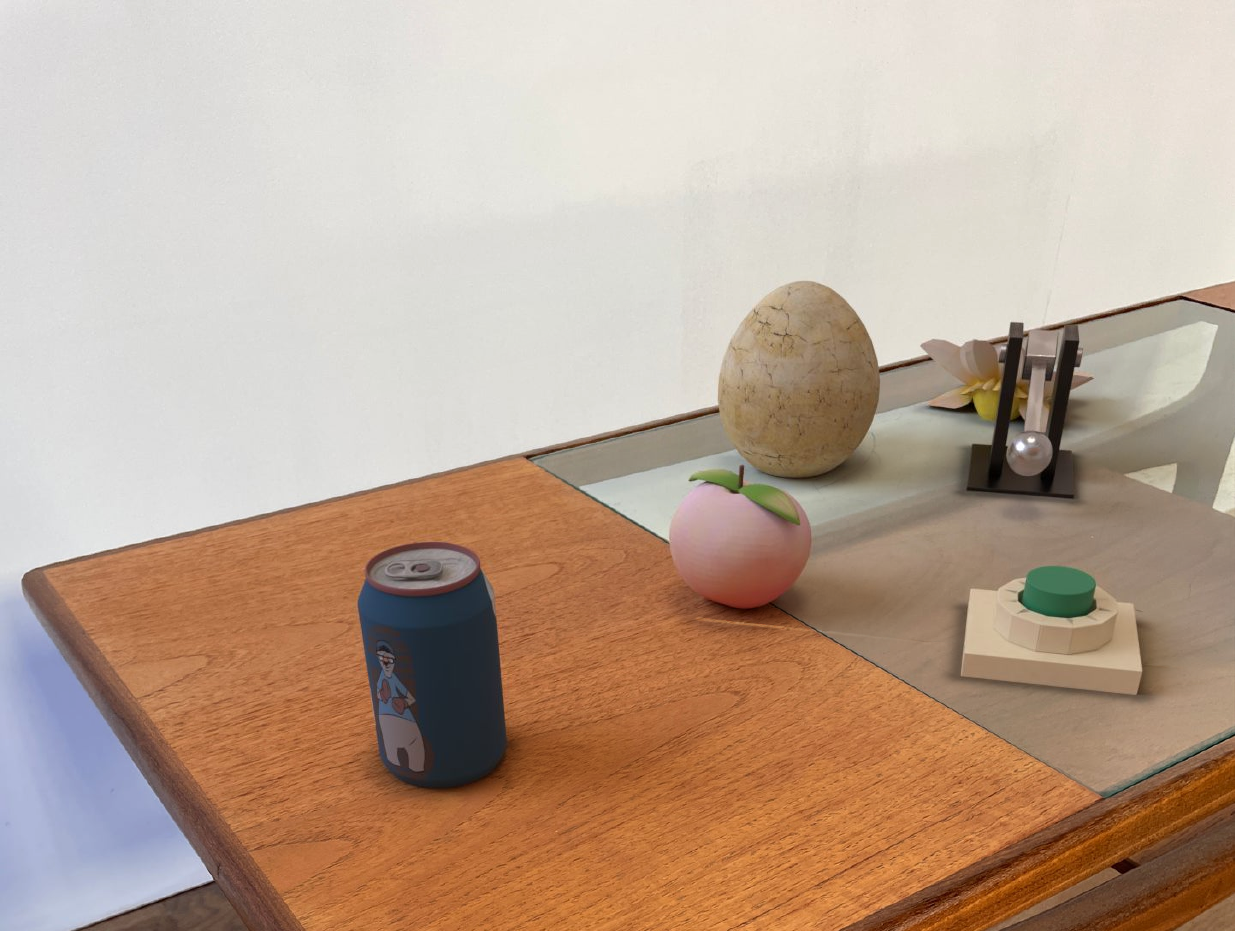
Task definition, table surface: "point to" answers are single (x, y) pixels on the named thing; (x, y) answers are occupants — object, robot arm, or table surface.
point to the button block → (1051, 643)
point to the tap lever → (1034, 405)
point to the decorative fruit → (739, 539)
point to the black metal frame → (1057, 477)
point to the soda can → (433, 664)
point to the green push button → (1059, 592)
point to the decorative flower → (986, 379)
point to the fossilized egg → (799, 382)
